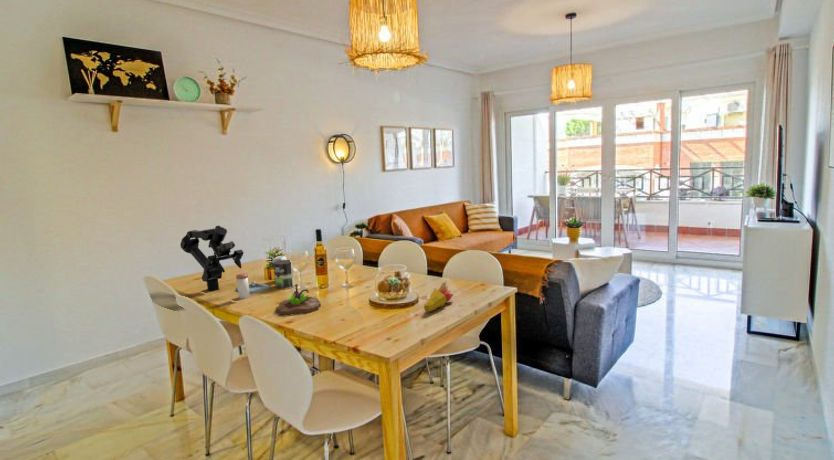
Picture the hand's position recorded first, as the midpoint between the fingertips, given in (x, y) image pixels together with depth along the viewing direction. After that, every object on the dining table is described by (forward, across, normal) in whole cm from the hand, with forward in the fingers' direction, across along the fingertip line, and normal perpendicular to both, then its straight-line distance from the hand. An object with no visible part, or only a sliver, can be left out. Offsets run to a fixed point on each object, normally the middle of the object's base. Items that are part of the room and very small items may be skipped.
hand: (232, 269), depth 237 cm
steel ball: (+5, +14, +14) cm, 20 cm away
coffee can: (+16, +24, +4) cm, 29 cm away
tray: (+9, +11, +11) cm, 18 cm away
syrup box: (+8, +30, +12) cm, 33 cm away
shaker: (+15, 0, +5) cm, 16 cm away
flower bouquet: (+83, +38, -57) cm, 108 cm away
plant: (+43, +5, -20) cm, 47 cm away
